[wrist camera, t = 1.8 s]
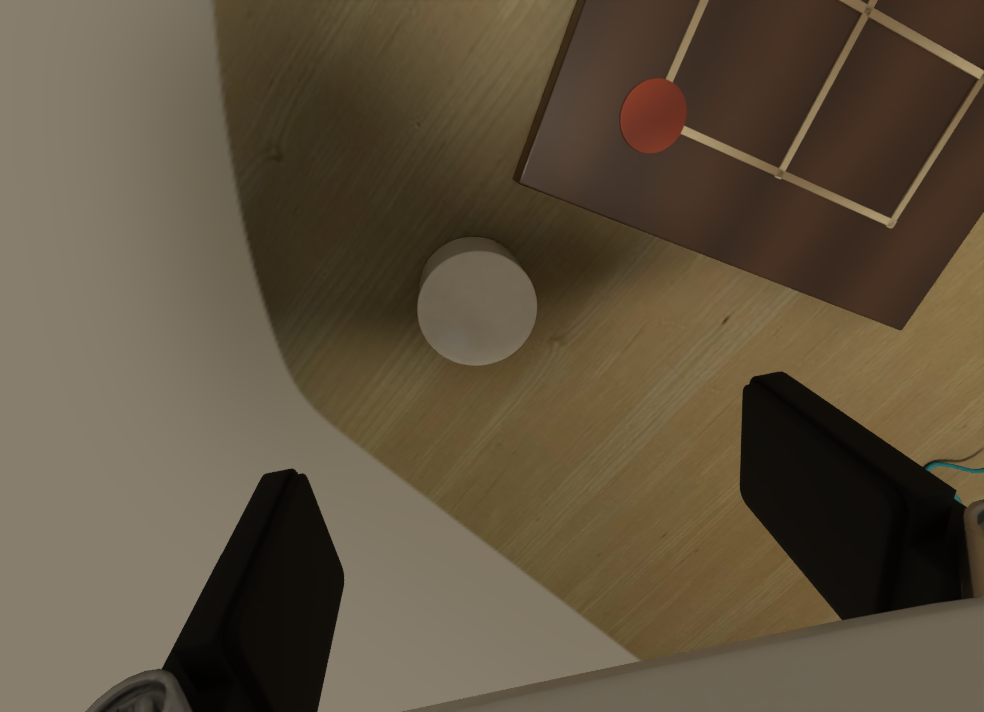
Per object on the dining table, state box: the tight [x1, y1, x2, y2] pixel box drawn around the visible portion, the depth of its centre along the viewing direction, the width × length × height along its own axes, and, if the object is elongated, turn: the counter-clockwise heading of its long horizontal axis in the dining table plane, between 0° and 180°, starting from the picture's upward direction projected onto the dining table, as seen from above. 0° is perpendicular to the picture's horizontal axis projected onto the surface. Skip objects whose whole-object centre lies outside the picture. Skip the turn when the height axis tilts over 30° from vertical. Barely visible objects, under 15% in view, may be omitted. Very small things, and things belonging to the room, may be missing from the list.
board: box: [513, 0, 984, 330], centre depth 20 cm, size 20×20×2 cm
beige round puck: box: [417, 237, 537, 366], centre depth 22 cm, size 5×5×3 cm
